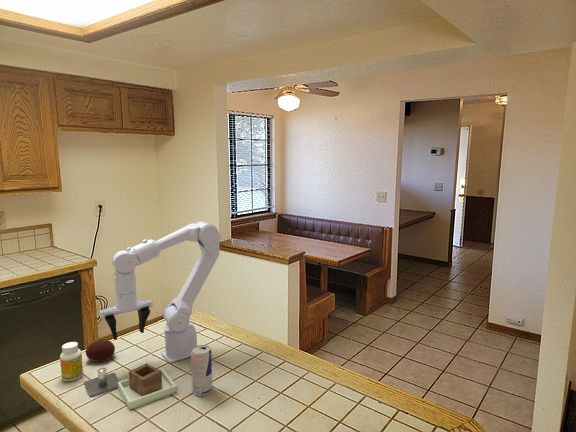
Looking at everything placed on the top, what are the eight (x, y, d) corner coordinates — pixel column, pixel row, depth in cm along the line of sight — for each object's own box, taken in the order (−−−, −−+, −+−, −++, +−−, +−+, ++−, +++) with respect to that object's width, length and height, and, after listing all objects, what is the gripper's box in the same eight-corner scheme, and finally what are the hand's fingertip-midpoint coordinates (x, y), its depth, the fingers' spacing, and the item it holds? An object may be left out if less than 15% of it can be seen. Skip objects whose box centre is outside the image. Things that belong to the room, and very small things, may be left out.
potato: (94, 352, 126) (93, 335, 126) (120, 353, 126) (118, 335, 125) (82, 364, 119) (80, 346, 118) (108, 365, 119) (107, 346, 118)
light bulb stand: (114, 374, 114) (113, 359, 113) (121, 386, 107) (120, 371, 107) (84, 383, 109) (82, 368, 108) (89, 397, 103) (88, 381, 102)
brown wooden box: (129, 388, 106) (128, 371, 105) (147, 379, 110) (146, 363, 109) (144, 398, 102) (143, 380, 101) (162, 388, 106) (161, 371, 105)
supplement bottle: (73, 382, 109) (71, 350, 108) (57, 380, 110) (54, 348, 109) (87, 372, 115) (84, 341, 113) (71, 370, 116) (68, 339, 114)
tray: (162, 374, 114) (161, 367, 113) (176, 392, 105) (176, 385, 105) (118, 388, 106) (117, 382, 106) (129, 409, 98) (129, 402, 97)
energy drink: (216, 387, 107) (214, 346, 106) (205, 398, 102) (204, 355, 101) (199, 383, 109) (197, 343, 107) (188, 394, 104) (186, 352, 102)
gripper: (146, 283, 122) (148, 324, 124) (96, 292, 114) (99, 336, 116) (153, 289, 117) (156, 332, 119) (101, 299, 108) (104, 345, 110)
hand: (128, 335), depth 117 cm, fingers open, 7 cm apart
